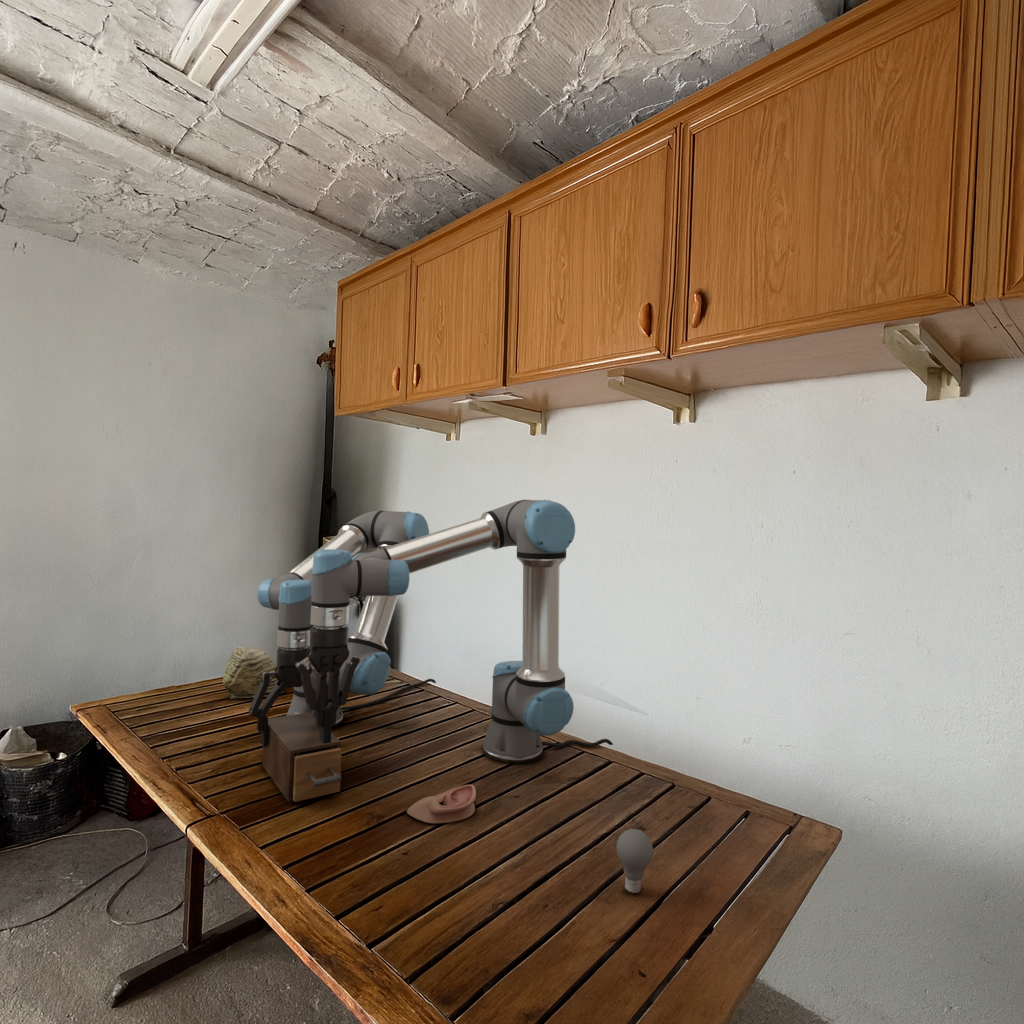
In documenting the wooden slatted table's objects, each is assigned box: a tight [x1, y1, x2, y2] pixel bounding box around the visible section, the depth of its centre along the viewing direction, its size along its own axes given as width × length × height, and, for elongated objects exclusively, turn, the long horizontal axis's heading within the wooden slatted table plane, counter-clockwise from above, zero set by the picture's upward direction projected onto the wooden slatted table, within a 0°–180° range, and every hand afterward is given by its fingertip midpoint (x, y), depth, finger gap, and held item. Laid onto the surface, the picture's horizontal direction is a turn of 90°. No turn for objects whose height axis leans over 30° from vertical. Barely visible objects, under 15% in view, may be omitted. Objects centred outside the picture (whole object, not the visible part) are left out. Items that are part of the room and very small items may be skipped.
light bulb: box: [615, 828, 654, 894], centre depth 106 cm, size 6×6×10 cm
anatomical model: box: [406, 784, 477, 824], centre depth 130 cm, size 13×4×12 cm
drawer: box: [293, 746, 342, 803], centre depth 138 cm, size 26×10×9 cm, turn 36°
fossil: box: [222, 646, 287, 699], centre depth 198 cm, size 9×18×15 cm, turn 132°
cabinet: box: [261, 712, 342, 803], centre depth 142 cm, size 21×11×11 cm, turn 35°
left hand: (290, 739), depth 148 cm, fingers open, 11 cm apart
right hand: (325, 740), depth 129 cm, fingers closed
